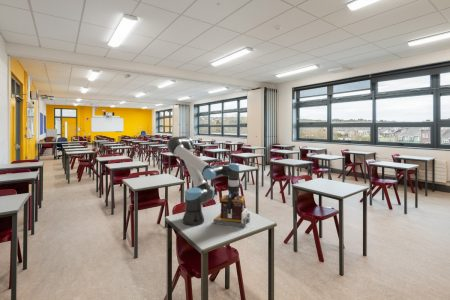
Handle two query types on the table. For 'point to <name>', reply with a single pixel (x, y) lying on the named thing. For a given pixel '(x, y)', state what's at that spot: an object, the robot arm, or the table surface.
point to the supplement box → (236, 208)
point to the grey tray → (231, 223)
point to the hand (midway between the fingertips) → (233, 214)
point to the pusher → (244, 215)
